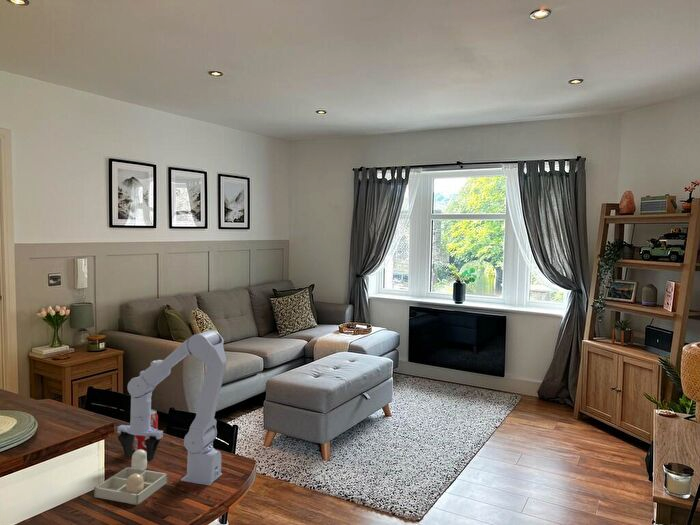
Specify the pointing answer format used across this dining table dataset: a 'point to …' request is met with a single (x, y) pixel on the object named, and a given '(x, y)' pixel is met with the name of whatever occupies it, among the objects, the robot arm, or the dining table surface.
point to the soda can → (141, 439)
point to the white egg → (139, 459)
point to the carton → (117, 486)
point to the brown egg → (134, 484)
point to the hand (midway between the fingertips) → (139, 458)
